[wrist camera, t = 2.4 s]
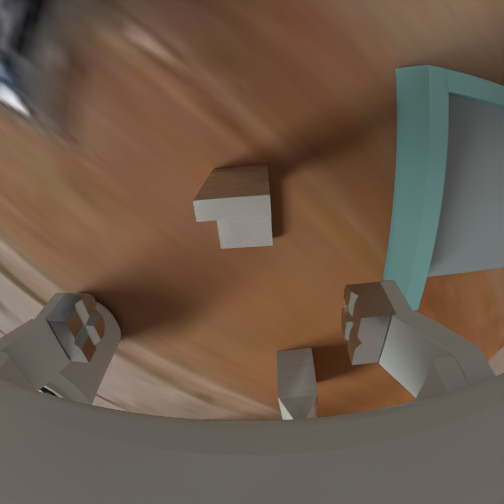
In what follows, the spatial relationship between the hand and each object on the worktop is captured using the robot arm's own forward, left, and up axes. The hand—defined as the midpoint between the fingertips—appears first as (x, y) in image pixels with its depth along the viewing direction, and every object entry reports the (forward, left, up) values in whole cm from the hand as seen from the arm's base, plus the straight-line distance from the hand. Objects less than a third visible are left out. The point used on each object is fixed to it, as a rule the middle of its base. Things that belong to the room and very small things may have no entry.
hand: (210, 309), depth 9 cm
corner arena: (+1, +21, -15) cm, 26 cm away
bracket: (+2, 0, -15) cm, 15 cm away
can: (+14, -18, -15) cm, 27 cm away
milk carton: (+22, +4, -15) cm, 27 cm away
